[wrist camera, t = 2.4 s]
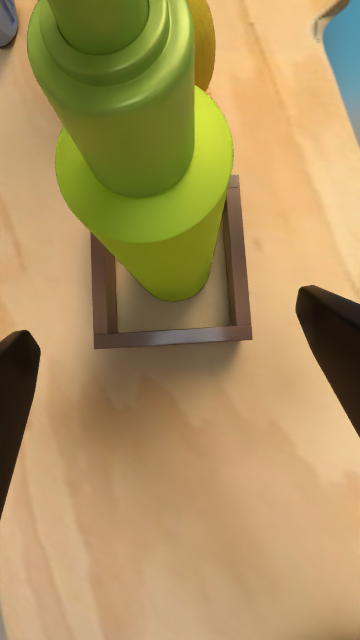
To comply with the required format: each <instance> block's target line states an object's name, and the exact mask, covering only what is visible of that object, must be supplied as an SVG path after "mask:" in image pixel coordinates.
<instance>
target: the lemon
mask: <svg viewBox="0 0 360 640" xmlns="http://www.w3.org/2000/svg"><path fill="white" fill-rule="evenodd" d="M187 2H188V4H189V7H190V10H191V14H192V19H193V25H194V43H195V85H196V86H197V87H199V88H200V89H201V90H203V91H204V92H206V90H207V88H208V86H209V83H210V80H211V77H212V74H213V69H214V62H215V47H216V46H215V32H214V25H213V20H212V15H211V11H210V8H209V6H208V4H207V1H206V0H187Z"/></svg>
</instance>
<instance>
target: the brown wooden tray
mask: <svg viewBox="0 0 360 640" xmlns="http://www.w3.org/2000/svg"><path fill="white" fill-rule="evenodd" d="M222 216H223V228H224V241H225V254H226V267H227V279H228V292H229V305H230V318H231V326H226V327H209V328H193V329H177V330H161V331H145V332H129V333H118V332H117V305H116V279H115V256H114V255H113V254H112V253H111V252H110V251H109V250H108V249H107V248H106V247H105V246H104V245H103V244H102V243H101V242H100V241H99V240H98V239H97V238H96V237H95V236H94V235H93V233H92V232H91V263H92V297H93V331H94V349H107V348H124V347H140V346H157V345H173V344H190V343H206V342H223V341H239V340H252V327H251V316H250V304H249V292H248V281H247V269H246V257H245V245H244V234H243V222H242V210H241V199H240V188H239V175H231V177H230V181H229V186H228V190H227V195H226V200H225V204H224V209H223V213H222Z"/></svg>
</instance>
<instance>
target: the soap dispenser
mask: <svg viewBox="0 0 360 640" xmlns="http://www.w3.org/2000/svg"><path fill="white" fill-rule="evenodd" d="M27 52H28V58H29V62H30V65H31V68H32V70H33V73H34V75H35V77H36V79H37V81H38V83H39V85H40V87H41V88H42V90H43V92H44V94H45V95H46V97H47V99H48V100H49V102H50V103H51V105H52V107H53V108H54V110H55V112H56V113H57V115H58V117H59V118H60V120H61V122H62V123H63V125H64V126H63V128H62V130H61V133H60V136H59V139H58V143H57V148H56V156H55V168H56V176H57V181H58V184H59V188H60V191H61V193H62V195H63V197H64V199H65V201H66V203H67V205H68V206H69V208H70V209H71V211H72V212H73V213H74V214H75V216H76V217H77V218H78V219H79V220H80V221H81V222H82V223H83V224H84V225H85V226H86V227H87V228H88V229H89V230H90V231H91V232H92V233H93V235H94V236H95V237H96V238H97V239H98V240H99V241H100V242H101V243H102V244H103V245H104V246H105V247H106V248H107V249H108V250H109V251H110V252H111V253H112V254H113V255H114V256H115V258H116V259H117V260H118V261H119V262H120V263H121V264H122V265H123V266H124V267H125V268H126V269H127V270H128V271H129V272H130V273H131V274H132V275H133V276H134V277H135V278H136V280H137V281H138V282H139V283H140V284H141V285H142V286H143V287H144V288H145V289H146V290H147V291H148V292H149V293H150V294H152V295H153V296H155V297H156V298H158V299H161V300H164V301H171V302H176V301H182V300H185V299H188V298H190V297H192V296H194V295H195V294H196V293H197V292H199V291H200V290H201V288H202V287H203V286H204V284H205V283H206V281H207V279H208V276H209V272H210V267H211V263H212V258H213V254H214V249H215V245H216V240H217V236H218V231H219V227H220V222H221V218H222V213H223V209H224V204H225V200H226V195H227V190H228V186H229V181H230V177H231V172H232V167H233V142H232V136H231V132H230V129H229V126H228V123H227V121H226V119H225V117H224V115H223V113H222V112H221V110H220V109H219V107H218V106H217V104H216V103H215V102H214V101H213V100H212V99H211V98H210V97H209V96H208V95H207V94H206V93H205V92H204V91H203V90H201V89H200V88H199V87H197V86H196V85H195V43H194V25H193V19H192V14H191V10H190V7H189V4H188V2H187V0H38V2H37V4H36V6H35V8H34V10H33V12H32V15H31V18H30V21H29V26H28V33H27Z"/></svg>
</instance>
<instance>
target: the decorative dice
mask: <svg viewBox="0 0 360 640" xmlns="http://www.w3.org/2000/svg"><path fill="white" fill-rule="evenodd" d="M17 25H18V20H17V11H16V7H15V3H14V0H0V47H2V46H5V45H6V44H8V43H9V42H10V41H11V40H12V39H13V38H14V36H15V34H16V31H17Z"/></svg>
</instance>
